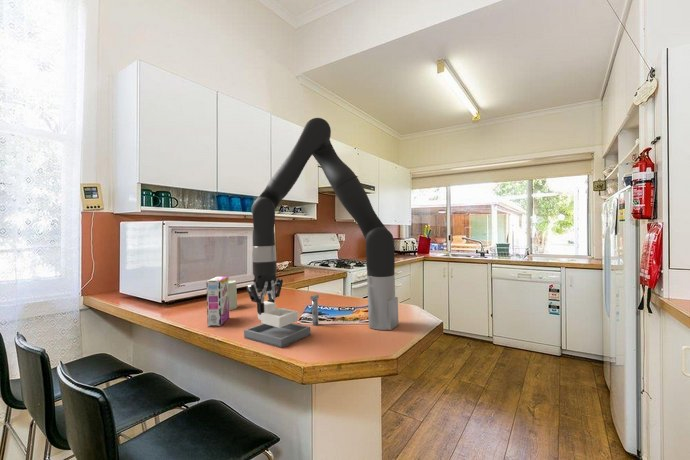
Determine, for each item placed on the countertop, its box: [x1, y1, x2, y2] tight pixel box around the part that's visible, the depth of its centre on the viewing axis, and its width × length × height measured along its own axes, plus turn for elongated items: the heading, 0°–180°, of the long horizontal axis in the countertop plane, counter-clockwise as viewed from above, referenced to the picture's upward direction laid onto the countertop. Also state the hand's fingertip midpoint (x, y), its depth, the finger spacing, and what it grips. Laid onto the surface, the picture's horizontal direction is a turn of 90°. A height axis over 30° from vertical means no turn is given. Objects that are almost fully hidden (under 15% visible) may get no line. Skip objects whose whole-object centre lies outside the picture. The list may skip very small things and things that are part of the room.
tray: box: [243, 323, 312, 349], centre depth 99 cm, size 17×13×2 cm
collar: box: [257, 300, 299, 328], centre depth 100 cm, size 12×8×5 cm, turn 55°
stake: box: [309, 294, 320, 326], centre depth 110 cm, size 2×3×10 cm, turn 145°
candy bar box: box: [206, 275, 230, 328], centre depth 117 cm, size 11×5×16 cm, turn 5°
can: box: [228, 279, 238, 311], centre depth 138 cm, size 9×9×12 cm
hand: (266, 312), depth 102 cm, fingers closed on collar, 3 cm apart
